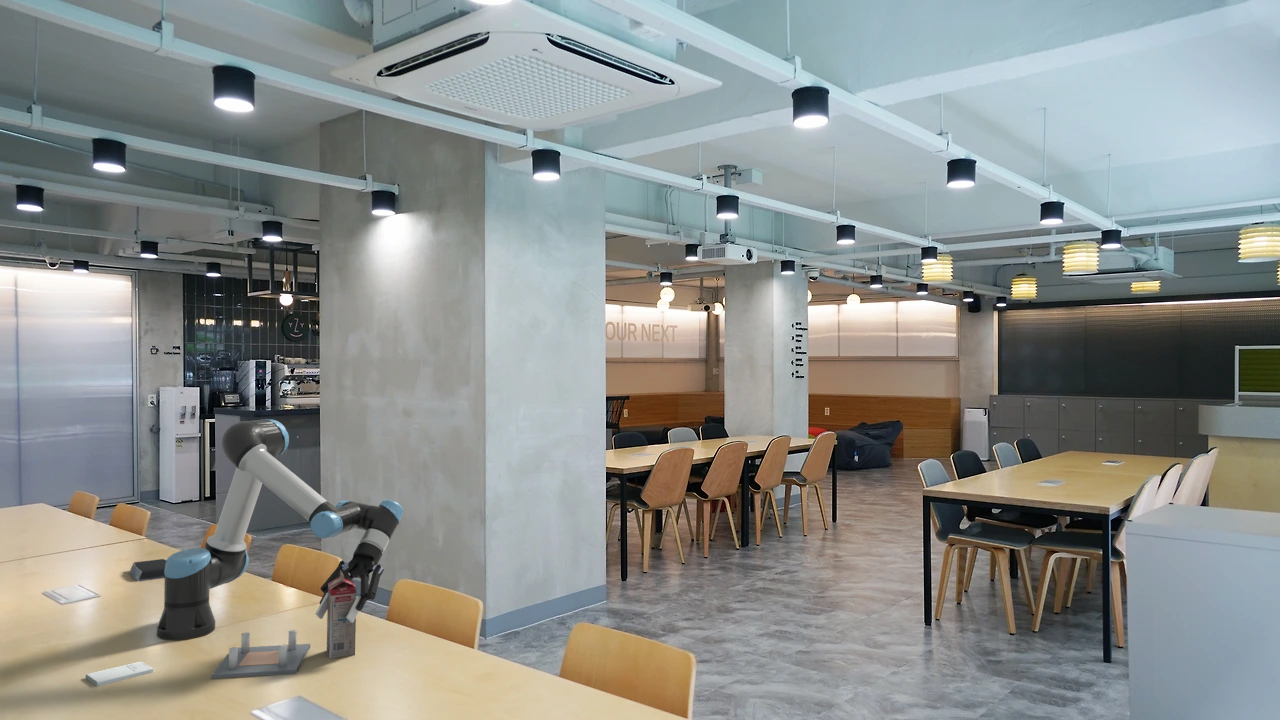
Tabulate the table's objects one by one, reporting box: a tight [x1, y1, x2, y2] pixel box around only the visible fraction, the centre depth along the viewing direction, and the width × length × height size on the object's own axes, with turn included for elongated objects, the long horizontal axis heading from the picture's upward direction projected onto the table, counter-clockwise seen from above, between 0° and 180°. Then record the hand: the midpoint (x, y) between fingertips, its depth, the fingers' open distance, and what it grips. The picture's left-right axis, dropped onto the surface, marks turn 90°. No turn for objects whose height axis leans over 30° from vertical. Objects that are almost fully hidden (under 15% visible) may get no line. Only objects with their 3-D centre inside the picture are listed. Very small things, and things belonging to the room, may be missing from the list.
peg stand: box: [210, 629, 311, 679], centre depth 215 cm, size 20×20×6 cm
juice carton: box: [326, 570, 357, 659], centre depth 223 cm, size 7×7×22 cm
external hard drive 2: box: [85, 661, 154, 687], centre depth 204 cm, size 2×8×12 cm
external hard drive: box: [129, 558, 167, 582], centre depth 304 cm, size 13×19×4 cm
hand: (334, 618), depth 220 cm, fingers closed on juice carton, 9 cm apart
